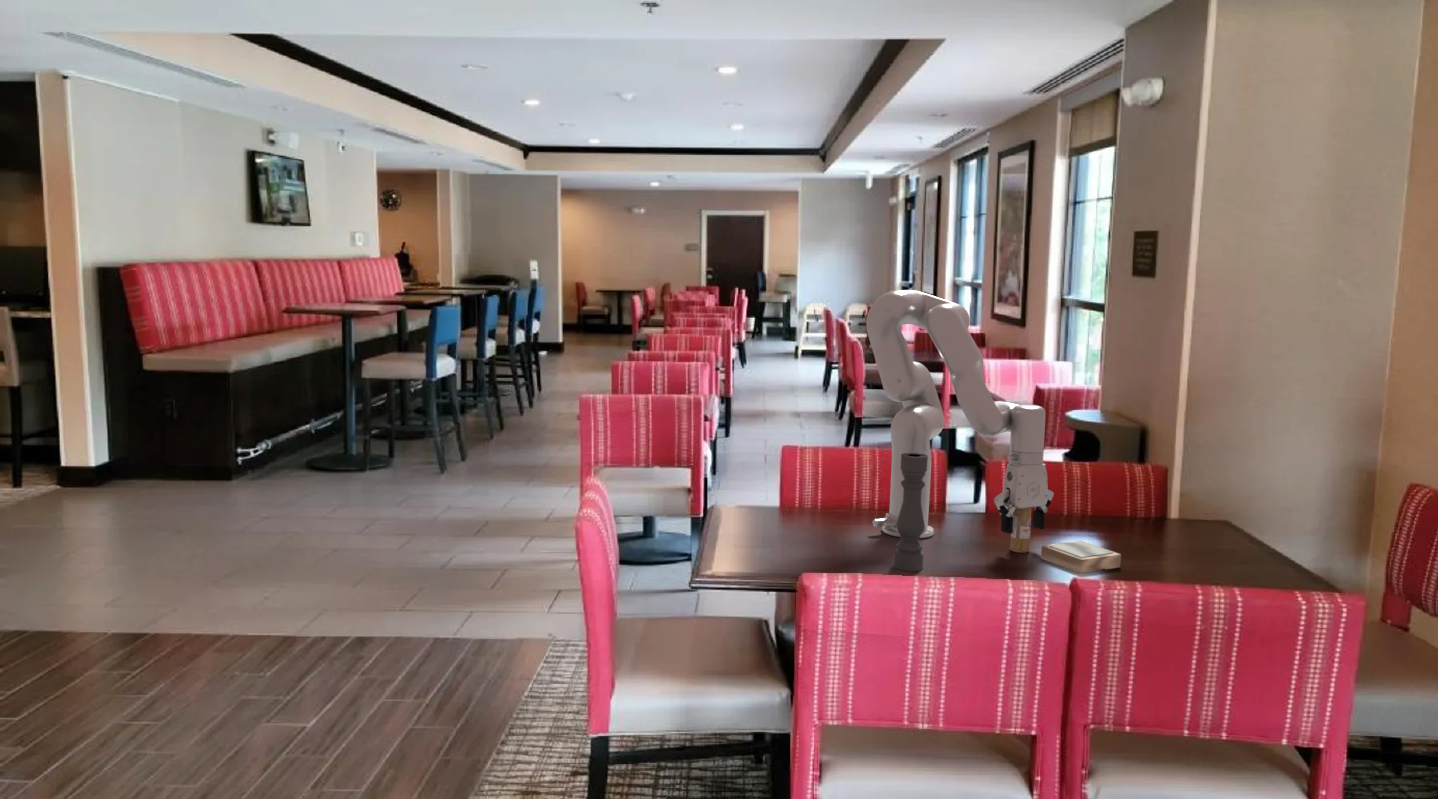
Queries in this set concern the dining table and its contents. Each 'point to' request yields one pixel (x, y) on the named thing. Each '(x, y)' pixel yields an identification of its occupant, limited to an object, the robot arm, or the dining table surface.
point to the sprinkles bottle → (1021, 530)
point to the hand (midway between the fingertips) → (1022, 530)
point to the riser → (1080, 556)
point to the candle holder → (911, 513)
